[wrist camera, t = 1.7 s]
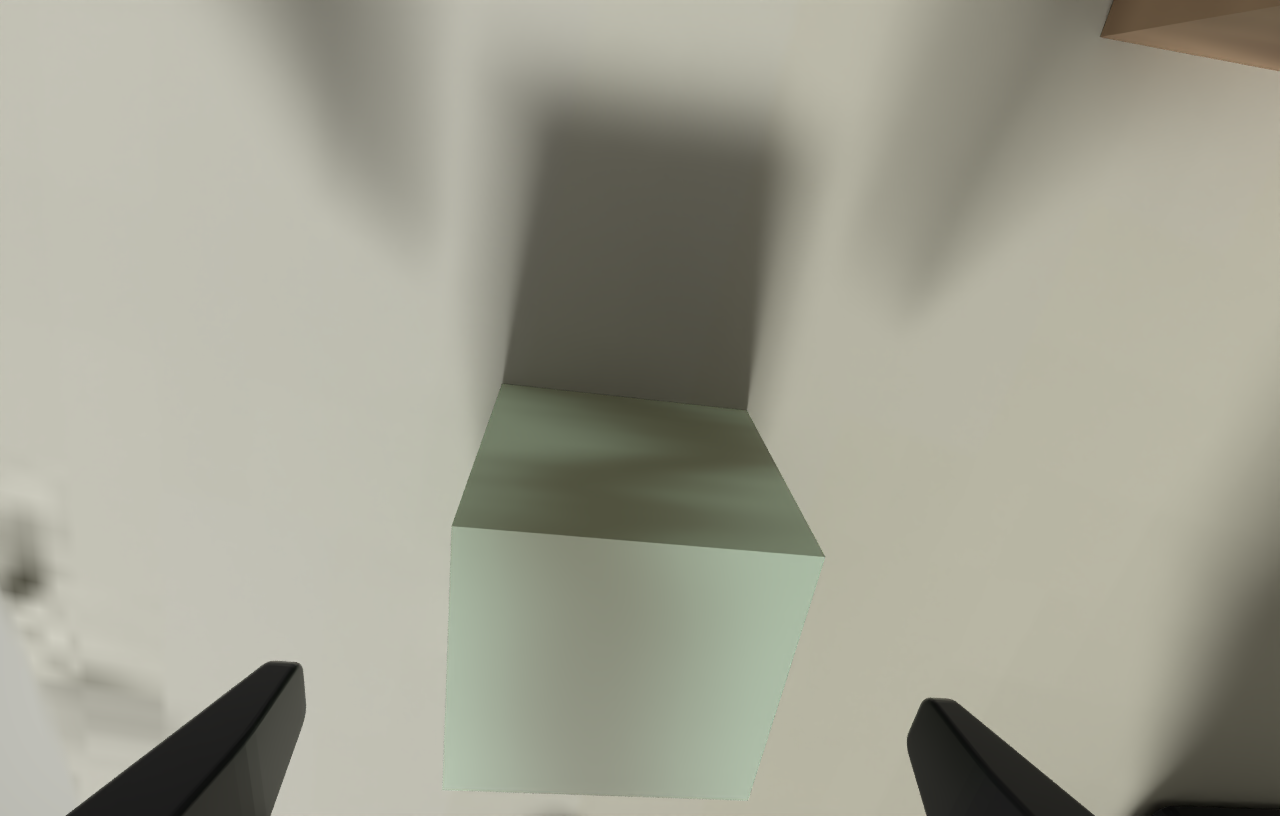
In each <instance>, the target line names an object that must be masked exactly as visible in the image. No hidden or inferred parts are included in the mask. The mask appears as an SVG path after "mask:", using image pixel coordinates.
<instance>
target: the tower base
mask: <svg viewBox="0 0 1280 816" xmlns="http://www.w3.org/2000/svg"><path fill="white" fill-rule="evenodd" d="M1100 37H1103V38H1108V39H1113V40H1119V41H1124V42H1129V43H1134V44H1140V45H1145V46H1150V47H1155V48H1161V49H1166V50H1171V51H1176V52H1182V53H1187V54H1192V55H1197V56H1202V57H1208V58H1213V59H1218V60H1223V61H1229V62H1234V63H1239V64H1244V65H1250V66H1255V67H1260V68H1265V69H1271V70H1276V71H1280V0H1114V1H1113V4H1112V6H1111V9H1110V12H1109V14H1108V17H1107V20H1106V22H1105V25H1104V28H1103V30H1102V33H1101V36H1100Z"/></svg>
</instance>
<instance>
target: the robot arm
mask: <svg viewBox="0 0 1280 816" xmlns="http://www.w3.org/2000/svg"><path fill="white" fill-rule="evenodd" d="M305 713H306V699H305V687H304V675H303V668H302V666H301V664H300V663H297V662H286V661H270V662H267V663H265V664H263V665H262V666H261V667H259V668H258V669H257V670H255V671H254V672H253V673H251V674H250V675H249V676H248V677H246V678H245V679H244V680H242V681H241V682H240V683H238V684H237V685H236V686H234V687H233V688H232V689H231V690H229V691H228V692H227V693H225V694H224V695H223V696H221V697H220V698H219V699H217V700H216V701H215V702H214V703H212V704H211V705H210V706H208V707H207V708H206V709H204V710H203V711H202V712H201V713H199V714H198V715H197V716H195V717H194V718H193V719H191V720H190V721H189V722H187V723H186V724H185V725H184V726H182V727H181V728H180V729H178V730H177V731H176V732H174V733H173V734H172V735H170V736H169V737H168V738H167V739H165V740H164V741H163V742H161V743H160V744H159V745H157V746H156V747H155V748H153V749H152V750H151V751H150V752H148V753H147V754H146V755H144V756H143V757H142V758H140V759H139V760H138V761H136V762H135V763H134V764H133V765H131V766H130V767H129V768H127V769H126V770H125V771H123V772H122V773H121V774H119V775H118V776H117V777H116V778H114V779H113V780H112V781H110V782H109V783H108V784H106V785H105V786H104V787H103V788H101V789H100V790H99V791H97V792H96V793H95V794H93V795H92V796H91V797H89V798H88V799H87V800H86V801H84V802H83V803H82V804H80V805H79V806H78V807H76V808H75V809H74V810H72V811H71V812H70V813H69V814H67V815H66V816H271V813H272V810H273V807H274V804H275V801H276V799H277V796H278V793H279V790H280V787H281V785H282V782H283V779H284V776H285V773H286V770H287V768H288V765H289V762H290V759H291V756H292V754H293V751H294V748H295V745H296V742H297V739H298V737H299V734H300V731H301V728H302V725H303V722H304V718H305ZM907 749H908V754H909V757H910V761H911V764H912V768H913V771H914V774H915V778H916V781H917V785H918V788H919V791H920V795H921V798H922V802H923V805H924V809H925V812H926V815H927V816H1095V815H1093V814H1092V813H1091V812H1090V811H1088V810H1087V809H1086V808H1085V807H1084V806H1082V805H1081V804H1080V803H1079V802H1078V801H1076V800H1075V799H1074V798H1073V797H1071V796H1070V795H1069V794H1068V793H1067V792H1065V791H1064V790H1063V789H1062V788H1061V787H1059V786H1058V785H1057V784H1056V783H1054V782H1053V781H1052V780H1051V779H1050V778H1048V777H1047V776H1046V775H1045V774H1044V773H1042V772H1041V771H1040V770H1039V769H1037V768H1036V767H1035V766H1034V765H1033V764H1031V763H1030V762H1029V761H1028V760H1027V759H1025V758H1024V757H1023V756H1022V755H1020V754H1019V753H1018V752H1017V751H1016V750H1014V749H1013V748H1012V747H1011V746H1010V745H1008V744H1007V743H1006V742H1005V741H1003V740H1002V739H1001V738H1000V737H999V736H997V735H996V734H995V733H994V732H993V731H991V730H990V729H989V728H988V727H986V726H985V725H984V724H983V723H982V722H980V721H979V720H978V719H977V718H975V717H974V716H973V715H972V714H971V713H969V712H968V711H967V710H966V709H965V708H963V707H962V706H961V705H960V704H958V703H957V702H956V701H954V700H951V699H946V698H926V699H925V700H924V701H922V703H921V705H920V707H919V710H918V712H917V714H916V717H915V719H914V721H913V723H912V726H911V728H910V730H909V733H908V737H907ZM1152 816H1280V810H1270V809H1242V808H1214V807H1186V806H1169V807H1165V808H1162V809H1160V810H1158V811H1157V812H1155V813H1154V814H1153V815H1152Z"/></svg>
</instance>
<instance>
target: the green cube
mask: <svg viewBox="0 0 1280 816" xmlns="http://www.w3.org/2000/svg"><path fill="white" fill-rule="evenodd" d="M824 559H825V556H824V554H823V552H822V550H821V548H820V546H819V545H818V543H817V541H816V539H815V537H814V535H813V533H812V531H811V530H810V528H809V526H808V524H807V522H806V520H805V518H804V517H803V515H802V513H801V511H800V509H799V507H798V505H797V503H796V502H795V500H794V498H793V496H792V494H791V492H790V490H789V489H788V487H787V485H786V483H785V481H784V479H783V477H782V475H781V474H780V472H779V470H778V468H777V466H776V464H775V462H774V460H773V459H772V457H771V455H770V453H769V451H768V449H767V447H766V446H765V444H764V442H763V440H762V438H761V436H760V434H759V432H758V431H757V429H756V427H755V425H754V423H753V421H752V419H751V418H750V416H749V414H748V412H747V410H739V409H729V408H720V407H711V406H702V405H693V404H684V403H675V402H665V401H656V400H647V399H638V398H629V397H620V396H611V395H601V394H592V393H583V392H574V391H565V390H556V389H547V388H537V387H528V386H519V385H510V384H502V386H501V389H500V391H499V394H498V397H497V400H496V403H495V405H494V408H493V411H492V414H491V417H490V420H489V422H488V425H487V428H486V431H485V434H484V436H483V439H482V442H481V445H480V448H479V451H478V453H477V456H476V459H475V462H474V465H473V468H472V470H471V473H470V476H469V479H468V482H467V484H466V487H465V490H464V493H463V496H462V499H461V501H460V504H459V507H458V510H457V513H456V515H455V518H454V521H453V524H452V531H451V560H450V588H449V617H448V646H447V674H446V703H445V731H444V760H443V788H442V790H455V791H484V792H513V793H541V794H570V795H599V796H628V797H657V798H686V799H715V800H744V801H748V799H749V796H750V792H751V789H752V786H753V783H754V780H755V777H756V774H757V770H758V767H759V764H760V761H761V758H762V755H763V752H764V748H765V745H766V742H767V739H768V736H769V733H770V729H771V726H772V723H773V720H774V717H775V714H776V711H777V707H778V704H779V701H780V698H781V695H782V692H783V689H784V685H785V682H786V679H787V676H788V673H789V670H790V666H791V663H792V660H793V657H794V654H795V651H796V648H797V644H798V641H799V638H800V635H801V632H802V629H803V626H804V622H805V619H806V616H807V613H808V610H809V607H810V604H811V600H812V597H813V594H814V591H815V588H816V585H817V581H818V578H819V575H820V572H821V569H822V566H823V563H824Z"/></svg>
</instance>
